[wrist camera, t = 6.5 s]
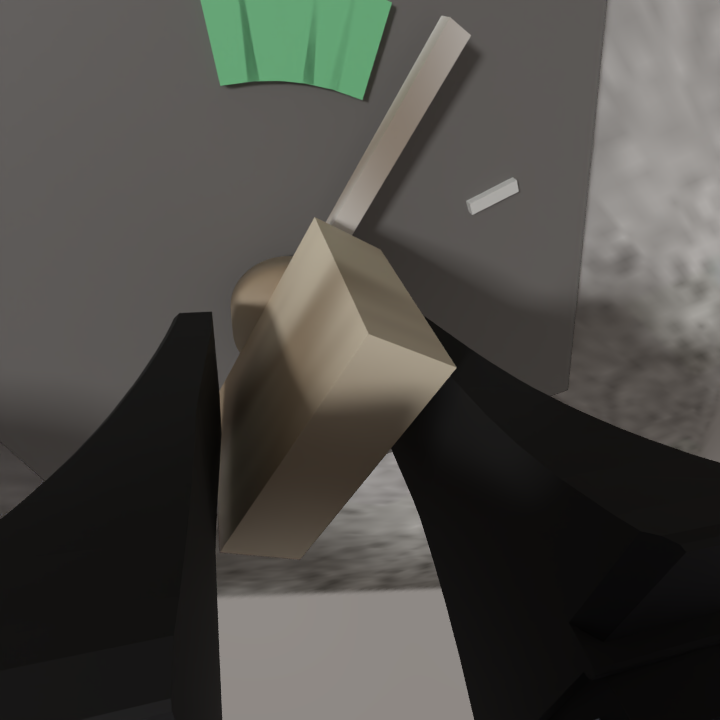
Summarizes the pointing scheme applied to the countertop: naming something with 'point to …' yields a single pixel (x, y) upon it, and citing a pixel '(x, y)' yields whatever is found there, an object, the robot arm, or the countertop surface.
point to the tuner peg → (327, 354)
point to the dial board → (275, 179)
